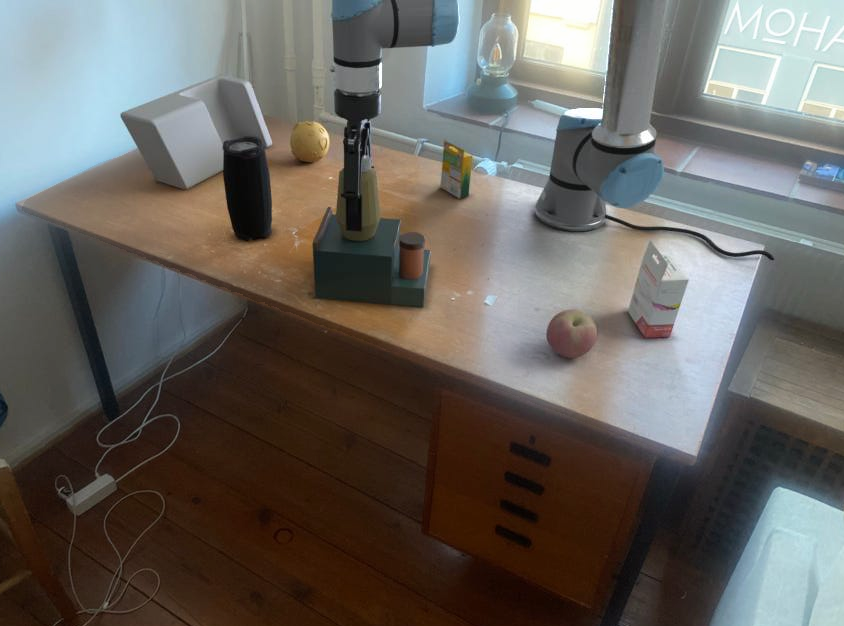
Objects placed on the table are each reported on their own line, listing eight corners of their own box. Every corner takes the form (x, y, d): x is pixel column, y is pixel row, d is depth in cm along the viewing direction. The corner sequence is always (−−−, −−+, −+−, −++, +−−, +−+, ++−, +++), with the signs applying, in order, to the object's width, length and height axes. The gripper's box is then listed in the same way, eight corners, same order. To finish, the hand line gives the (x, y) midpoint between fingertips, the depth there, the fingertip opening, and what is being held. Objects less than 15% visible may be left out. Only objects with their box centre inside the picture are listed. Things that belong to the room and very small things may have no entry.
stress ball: (291, 153, 183) (288, 114, 176) (329, 152, 183) (327, 113, 177) (291, 169, 175) (288, 129, 169) (331, 168, 176) (329, 128, 170)
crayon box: (469, 196, 165) (474, 147, 158) (459, 199, 163) (463, 150, 156) (449, 184, 169) (453, 137, 162) (440, 187, 168) (443, 139, 161)
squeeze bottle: (375, 247, 125) (376, 149, 114) (331, 242, 127) (327, 144, 115) (384, 226, 132) (386, 131, 120) (342, 221, 133) (339, 126, 122)
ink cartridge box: (671, 337, 123) (696, 264, 113) (643, 338, 122) (666, 265, 113) (652, 309, 129) (674, 238, 120) (626, 310, 129) (646, 238, 120)
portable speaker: (223, 238, 147) (210, 146, 135) (249, 219, 154) (239, 131, 142) (257, 247, 144) (246, 155, 132) (282, 228, 151) (275, 138, 139)
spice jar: (424, 267, 132) (426, 232, 127) (422, 280, 128) (424, 245, 124) (399, 265, 132) (400, 230, 128) (396, 278, 129) (397, 243, 124)
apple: (538, 361, 117) (546, 322, 112) (547, 335, 122) (555, 297, 117) (587, 373, 115) (597, 333, 110) (594, 346, 120) (604, 307, 115)
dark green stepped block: (429, 267, 140) (433, 214, 132) (423, 307, 129) (426, 251, 122) (329, 259, 141) (327, 206, 134) (315, 297, 131) (312, 242, 123)
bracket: (204, 224, 173) (152, 122, 149) (173, 213, 177) (117, 113, 153) (274, 145, 186) (235, 39, 162) (243, 136, 190) (201, 32, 166)
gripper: (345, 68, 121) (347, 191, 136) (321, 109, 105) (326, 245, 119) (389, 70, 121) (386, 194, 135) (371, 113, 104) (370, 248, 119)
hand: (358, 218), depth 127 cm, fingers closed on squeeze bottle, 8 cm apart
